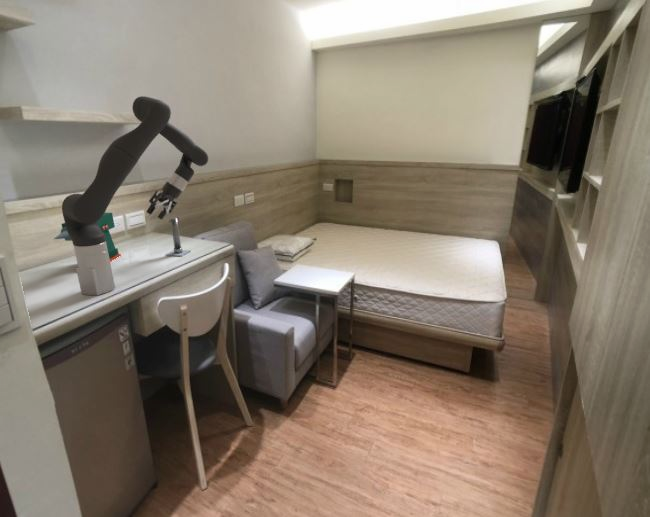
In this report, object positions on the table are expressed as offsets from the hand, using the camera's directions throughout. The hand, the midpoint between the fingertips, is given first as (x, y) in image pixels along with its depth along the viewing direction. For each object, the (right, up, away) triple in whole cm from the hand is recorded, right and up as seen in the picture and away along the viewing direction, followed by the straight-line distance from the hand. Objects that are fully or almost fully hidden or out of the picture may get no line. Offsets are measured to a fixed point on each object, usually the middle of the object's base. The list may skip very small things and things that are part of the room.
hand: (154, 216), depth 153 cm
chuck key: (+7, -16, +9) cm, 19 cm away
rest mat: (+7, -16, +9) cm, 20 cm away
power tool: (-20, -23, -11) cm, 32 cm away
